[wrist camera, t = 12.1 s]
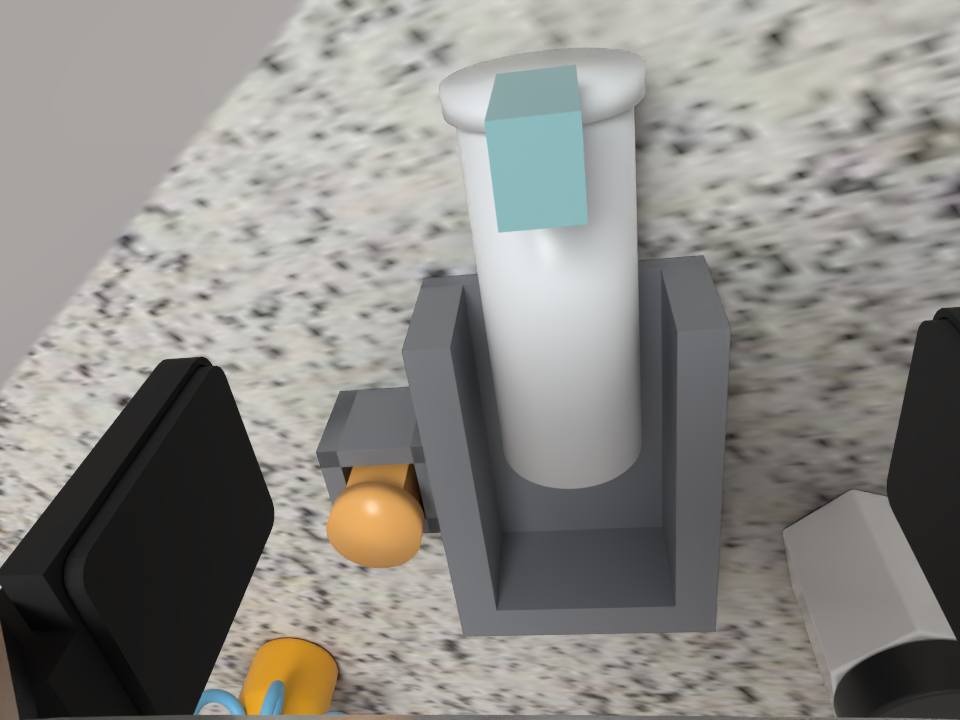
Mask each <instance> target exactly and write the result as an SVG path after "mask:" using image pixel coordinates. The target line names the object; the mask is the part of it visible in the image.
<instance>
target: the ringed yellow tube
mask: <svg viewBox="0 0 960 720" xmlns="http://www.w3.org/2000/svg"><path fill="white" fill-rule="evenodd" d="M337 677H338V668H337V665H336V662H335V660H334V659H333V657H332V656H331V655H330V654H329V653H328V652H327V651H325V650H324V649H323V648H321V647H319V646H317V645H316V644H313V643H310V642H308V641H304V640H300V639H293V638H280V639H274V640H271V641H268V642H266V643H265V644H263V645H262V646H261V647H260V648H259V649H258V650H257V651H256V653H255V655H254V657H253V660H252V662H251V665H250V668H249V671H248V673H247V676H246V679H245V681H244V684H243V687H242V689H241V692H240V695H239V698H238V699H237V698H236V697H235V696H234V695H232V694H231V693H229V692H227V691H224V690H220V689H210V690H206V691H204V692H203V693H202V696H201V698H200V700H199V703H198V705H197V707H196V710H195V712H194V715H198V713H199V711H200V710H201V708H202V707H203V706H204V705H206V704H208V703H212V702H215V703H220V704H222V705H224V706H225V707H226V708H228V710H229V711H230V712H231V714H232V715H346V714H345V713H342V712H329V708H330V704H331V700H332V697H333V693H334V689H335V685H336V681H337Z"/></svg>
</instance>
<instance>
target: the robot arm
mask: <svg viewBox="0 0 960 720" xmlns="http://www.w3.org/2000/svg"><path fill="white" fill-rule="evenodd" d="M887 495H888V500H889V504H890V507H891V509H892V511H893V513H894V515H895V517H896V519H897V521H898V523H899V525H900V527H901V529H902V531H903V533H904V535H905V537H906V539H907V541H908V543H909V545H910V547H911V549H912V551H913V553H914V555H915V557H916V559H917V561H918V563H919V565H920V567H921V569H922V571H923V573H924V575H925V577H926V579H927V581H928V583H929V585H930V587H931V589H932V591H933V593H934V595H935V597H936V599H937V601H938V603H939V605H940V607H941V609H942V611H943V613H944V615H945V617H946V619H947V621H948V623H949V625H950V627H951V629H952V631H953V633H954V635H955V637H956V639H957V641H958V643H959V645H960V307H953V308H941V309H940V310H938V311H937V313H936V314H935V316H934V318H933V320H929V321H924V322H922V323H921V325H920V326H919V329H918V332H917V337H916V342H915V347H914V351H913V356H912V361H911V366H910V371H909V376H908V381H907V386H906V391H905V395H904V400H903V405H902V410H901V415H900V420H899V425H898V430H897V434H896V439H895V444H894V449H893V454H892V459H891V464H890V469H889V473H888V478H887ZM273 522H274V506H273V502H272V499H271V497H270V494H269V491H268V489H267V486H266V483H265V480H264V478H263V475H262V472H261V470H260V467H259V464H258V462H257V459H256V456H255V454H254V451H253V448H252V445H251V443H250V440H249V437H248V435H247V432H246V429H245V427H244V424H243V421H242V419H241V416H240V413H239V410H238V408H237V405H236V402H235V400H234V397H233V394H232V392H231V389H230V386H229V384H228V381H227V378H226V375H225V373H224V371H223V370H222V369H221V368H220V367H218V366H212V364H211V362H210V361H209V360H208V359H207V358H204V357H193V358H178V359H166V360H163V361H162V362H160V363H159V364H158V366H157V367H156V368H155V369H154V371H153V372H152V373H151V375H150V376H149V377H148V378H147V380H146V381H145V382H144V384H143V385H142V386H141V387H140V389H139V390H138V391H137V393H136V394H135V395H134V397H133V398H132V399H131V400H130V402H129V403H128V404H127V406H126V407H125V408H124V409H123V411H122V412H121V413H120V415H119V416H118V417H117V418H116V420H115V421H114V422H113V424H112V425H111V426H110V427H109V429H108V430H107V431H106V433H105V434H104V435H103V436H102V438H101V439H100V440H99V442H98V443H97V444H96V445H95V447H94V448H93V449H92V451H91V452H90V453H89V455H88V456H87V457H86V458H85V460H84V461H83V462H82V464H81V465H80V466H79V467H78V469H77V470H76V471H75V473H74V474H73V475H72V476H71V478H70V479H69V480H68V482H67V483H66V484H65V485H64V487H63V488H62V489H61V491H60V492H59V493H58V494H57V496H56V497H55V498H54V500H53V501H52V502H51V504H50V505H49V506H48V507H47V509H46V510H45V511H44V513H43V514H42V515H41V516H40V518H39V519H38V520H37V522H36V523H35V524H34V525H33V527H32V528H31V529H30V531H29V532H28V533H27V534H26V536H25V537H24V538H23V540H22V541H21V542H20V543H19V545H18V546H17V547H16V549H15V550H14V551H13V553H12V554H11V555H10V556H9V558H8V559H7V560H6V562H5V563H4V564H3V565H2V567H1V568H0V585H1V587H2V588H1V590H0V720H960V719H921V718H840V717H733V716H593V715H194V712H195V710H196V707H197V705H198V703H199V700H200V698H201V696H202V693H203V691H204V689H205V686H206V684H207V681H208V679H209V677H210V674H211V672H212V670H213V667H214V665H215V662H216V660H217V658H218V655H219V653H220V651H221V648H222V646H223V644H224V641H225V639H226V636H227V634H228V632H229V629H230V627H231V625H232V622H233V620H234V617H235V615H236V613H237V610H238V608H239V606H240V603H241V601H242V599H243V596H244V594H245V591H246V589H247V587H248V584H249V582H250V580H251V577H252V575H253V572H254V570H255V568H256V565H257V563H258V561H259V558H260V556H261V554H262V551H263V549H264V546H265V544H266V542H267V539H268V537H269V535H270V532H271V530H272V527H273Z"/></svg>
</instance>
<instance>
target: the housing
mask: <svg viewBox="0 0 960 720" xmlns="http://www.w3.org/2000/svg"><path fill="white" fill-rule="evenodd" d="M638 290H639V334H640V377H641V420H642V447H641V451H640V454H639V456H638V458H637V460H636V461H635V462H634V464H633V465H632V466H631V467H630V468H629V469H628V470H627V471H625V472H624V473H623V474H621V475H620V476H618V477H616V478H614V479H612V480H610V481H608V482H605V483H602V484H599V485H595V486H591V487H586V488H577V489H560V488H552V487H546V486H542V485H539V484H536V483H533V482H531V481H528V480H527V479H525V478H523V477H521V476H520V475H519V474H517V473H516V472H515V471H514V470H513V469H512V468H511V467H510V465H509V464H508V462H507V460H506V458H505V455H504V451H503V444H502V437H501V430H500V424H499V417H498V410H497V403H496V396H495V389H494V383H493V376H492V369H491V362H490V355H489V348H488V342H487V335H486V328H485V321H484V314H483V307H482V301H481V294H480V287H479V280H478V274H472V275H460V276H448V277H435V278H424V279H423V282H422V286H421V289H420V292H419V295H418V299H417V302H416V305H415V309H414V312H413V315H412V319H411V322H410V325H409V329H408V332H407V335H406V338H405V342H404V345H403V348H402V355H403V360H404V364H405V369H406V374H407V378H408V383H409V387H401V388H385V389H370V390H354V391H340V392H339V395H338V398H337V400H336V403H335V405H334V408H333V410H332V413H331V415H330V418H329V420H328V423H327V425H326V428H325V430H324V433H323V436H322V438H321V441H320V443H319V446H318V448H317V451H316V454H317V457H318V460H319V463H320V467H321V470H322V473H323V476H324V479H325V483H326V486H327V489H328V492H329V495H330V499H331V502H332V505H333V504H334V501H335V499H336V497H337V496H338V494H339V493H340V492H341V491H343V490H344V489H345V488H346V486H347V483H348V480H349V477H350V474H351V471H352V468H353V466H372V465H392V464H412V463H414V466H415V470H416V474H417V479H418V483H419V488H420V492H421V498H420V503H419V504H420V506H421V508H422V510H423V513H424V518H425V522H424V528H423V533H440V532H441V534H442V539H443V544H444V548H445V553H446V557H447V562H448V567H449V571H450V576H451V580H452V585H453V590H454V594H455V599H456V603H457V608H458V613H459V617H460V622H461V626H462V631H463V636H464V637H465V636H517V635H569V634H622V633H674V632H716V613H717V593H718V573H719V553H720V533H721V513H722V493H723V473H724V452H725V432H726V412H727V392H728V372H729V352H730V332H731V328H730V325H729V322H728V320H727V317H726V314H725V312H724V309H723V306H722V304H721V301H720V298H719V296H718V293H717V291H716V288H715V285H714V283H713V280H712V277H711V275H710V272H709V269H708V267H707V264H706V261H705V259H704V256H703V255H701V256H689V257H677V258H665V259H653V260H640V261H638Z"/></svg>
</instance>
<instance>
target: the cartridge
mask: <svg viewBox="0 0 960 720" xmlns="http://www.w3.org/2000/svg"><path fill="white" fill-rule="evenodd" d="M439 92H440V98H441V105H442V111H443V117H444V120H445V121H446V122H447V123H448V124H450V125H452V126H454V127H456V130H457V137H458V143H459V150H460V157H461V164H462V171H463V178H464V184H465V191H466V198H467V205H468V212H469V219H470V225H471V232H472V239H473V246H474V253H475V260H476V266H477V273H478V280H479V287H480V294H481V301H482V307H483V314H484V321H485V328H486V335H487V342H488V348H489V355H490V362H491V369H492V376H493V383H494V389H495V396H496V403H497V410H498V417H499V424H500V430H501V437H502V444H503V451H504V455H505V458H506V460H507V462H508V464H509V465H510V467H511V468H512V469H513V470H514V471H515V472H516V473H517V474H519V475H520V476H521V477H523V478H525V479H527V480H528V481H531V482H533V483H536V484H539V485H542V486H546V487H552V488H560V489H577V488H586V487H591V486H595V485H599V484H602V483H605V482H608V481H610V480H612V479H614V478H616V477H618V476H620V475H621V474H623V473H624V472H625V471H627V470H628V469H629V468H630V467H631V466H632V465H633V464H634V462H635V461H636V460H637V458H638V456H639V454H640V451H641V447H642V420H641V377H640V334H639V290H638V247H637V204H636V161H635V118H634V106H636V105H637V104H638V103H640V102H641V101H642V100H643V98H644V97H645V94H646V79H645V60H644V59H643V57H641V56H640V55H638V54H635V53H632V52H629V51H624V50H618V49H608V48H568V49H554V50H545V51H537V52H529V53H523V54H517V55H512V56H507V57H502V58H498V59H493V60H489V61H486V62H482V63H479V64H475V65H472V66H470V67H467V68H464V69H462V70H459V71H457V72H455V73H453V74H451V75H449V76H448V77H446V78H445V79H444V80H443V81H442V82H441V83H440V85H439Z"/></svg>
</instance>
